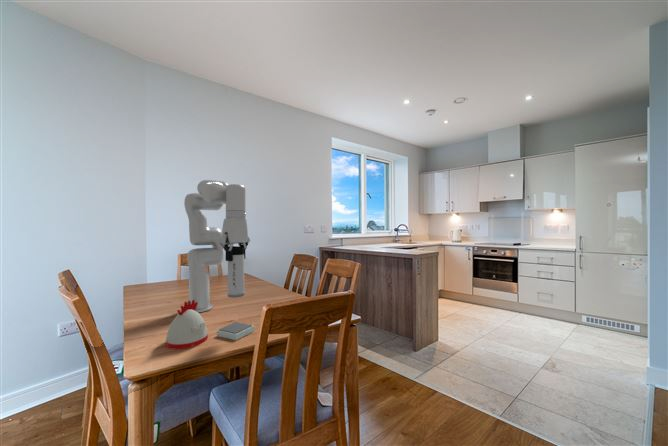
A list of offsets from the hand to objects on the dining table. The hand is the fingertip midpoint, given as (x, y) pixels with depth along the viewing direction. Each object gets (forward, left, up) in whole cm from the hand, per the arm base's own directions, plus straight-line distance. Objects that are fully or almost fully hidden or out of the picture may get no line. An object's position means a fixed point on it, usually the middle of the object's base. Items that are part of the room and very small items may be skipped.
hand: (235, 259), depth 112 cm
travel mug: (0, 0, -15) cm, 15 cm away
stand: (0, 0, -30) cm, 30 cm away
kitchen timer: (-12, -13, -30) cm, 35 cm away
